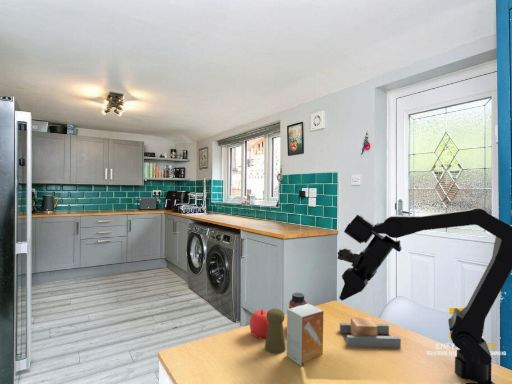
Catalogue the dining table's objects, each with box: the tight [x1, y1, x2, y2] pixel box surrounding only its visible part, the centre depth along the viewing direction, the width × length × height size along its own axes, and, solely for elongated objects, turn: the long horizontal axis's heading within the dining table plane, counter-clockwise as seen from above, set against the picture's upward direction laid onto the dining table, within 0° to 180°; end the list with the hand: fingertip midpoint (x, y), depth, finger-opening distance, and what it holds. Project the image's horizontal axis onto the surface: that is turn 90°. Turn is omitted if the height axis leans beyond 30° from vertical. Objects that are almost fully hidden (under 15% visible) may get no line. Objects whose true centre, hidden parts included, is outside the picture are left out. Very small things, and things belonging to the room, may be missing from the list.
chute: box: [339, 322, 402, 349], centre depth 89 cm, size 15×10×4 cm, turn 88°
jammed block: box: [350, 317, 378, 336], centre depth 89 cm, size 6×6×5 cm
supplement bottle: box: [288, 292, 308, 309], centre depth 98 cm, size 6×6×11 cm
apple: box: [248, 309, 269, 339], centre depth 93 cm, size 8×8×8 cm
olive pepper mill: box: [264, 308, 287, 355], centre depth 85 cm, size 6×6×11 cm
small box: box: [286, 303, 324, 367], centre depth 81 cm, size 8×6×13 cm
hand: (344, 294), depth 88 cm, fingers open, 9 cm apart
